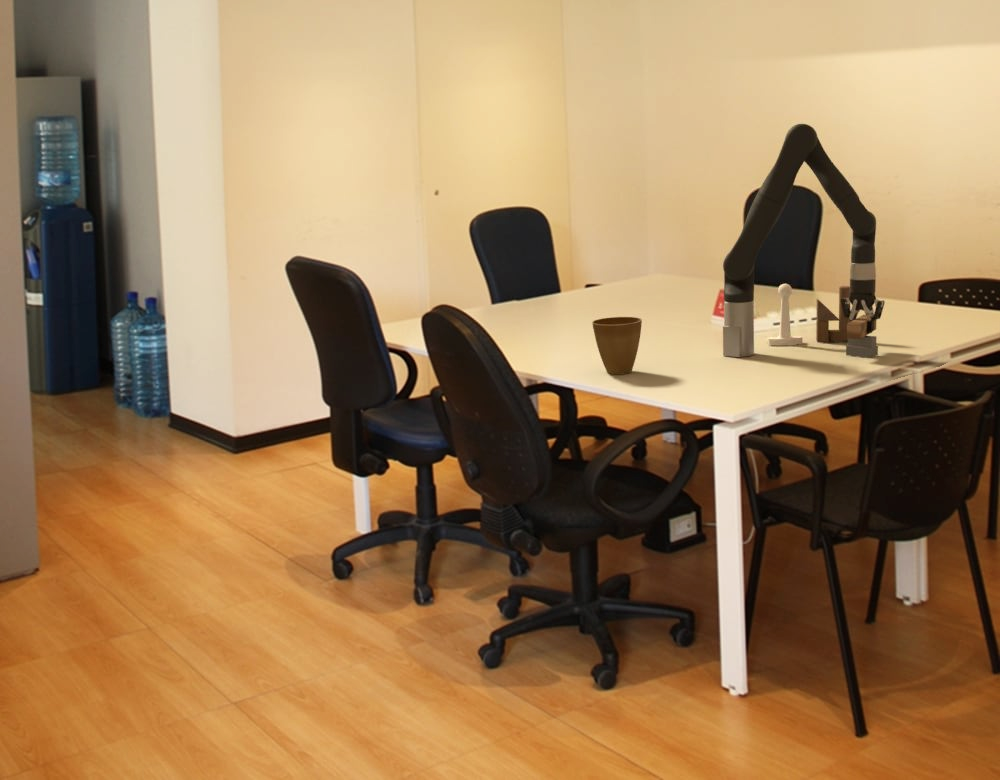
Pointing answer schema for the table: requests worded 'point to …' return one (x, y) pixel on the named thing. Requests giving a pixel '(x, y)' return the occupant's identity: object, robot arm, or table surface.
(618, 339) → the plant pot
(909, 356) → the table surface
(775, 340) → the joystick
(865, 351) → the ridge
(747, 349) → the robot arm
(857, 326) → the walnut bar
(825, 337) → the brown rod with wedge
